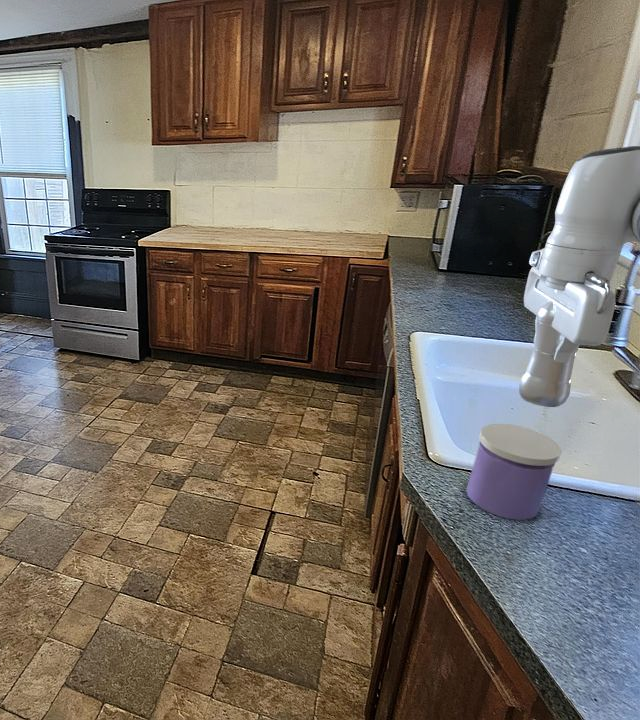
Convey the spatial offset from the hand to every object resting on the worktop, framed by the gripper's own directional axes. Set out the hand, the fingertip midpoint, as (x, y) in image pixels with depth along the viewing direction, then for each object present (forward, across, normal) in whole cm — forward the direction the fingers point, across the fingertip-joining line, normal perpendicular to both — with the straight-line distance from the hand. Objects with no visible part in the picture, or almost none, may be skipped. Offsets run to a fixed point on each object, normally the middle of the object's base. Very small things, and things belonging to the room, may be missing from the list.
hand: (549, 352), depth 83 cm
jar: (+28, 0, 0) cm, 28 cm away
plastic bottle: (+9, -1, -1) cm, 9 cm away
